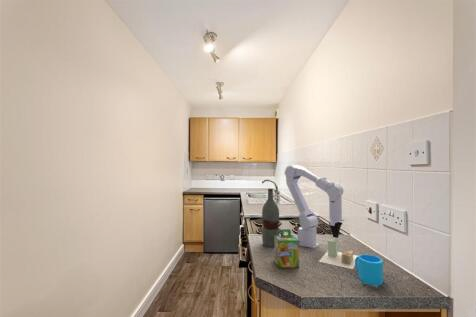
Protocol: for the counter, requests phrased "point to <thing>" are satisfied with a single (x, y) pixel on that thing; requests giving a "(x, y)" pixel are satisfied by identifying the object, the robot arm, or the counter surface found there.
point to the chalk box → (286, 250)
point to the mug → (370, 269)
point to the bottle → (270, 220)
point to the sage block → (332, 247)
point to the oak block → (347, 257)
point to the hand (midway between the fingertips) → (335, 237)
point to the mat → (337, 260)
